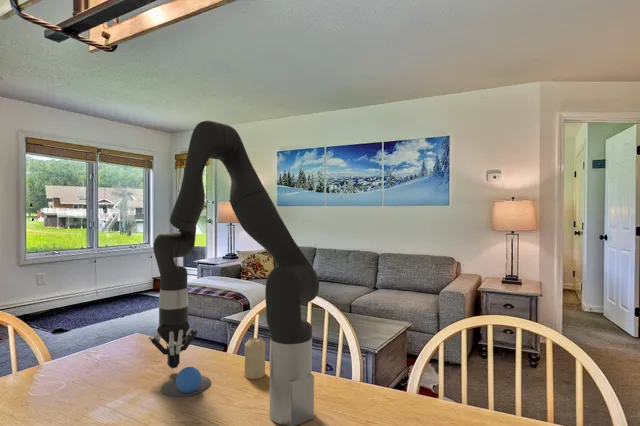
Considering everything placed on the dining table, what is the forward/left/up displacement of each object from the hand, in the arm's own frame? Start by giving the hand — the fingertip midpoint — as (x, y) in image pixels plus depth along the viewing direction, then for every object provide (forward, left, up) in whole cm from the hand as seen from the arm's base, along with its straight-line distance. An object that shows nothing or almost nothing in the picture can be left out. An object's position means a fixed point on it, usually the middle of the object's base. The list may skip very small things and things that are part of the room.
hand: (173, 367), depth 109 cm
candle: (-15, -17, -2) cm, 23 cm away
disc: (-10, 0, -2) cm, 10 cm away
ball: (-14, +1, +2) cm, 14 cm away
